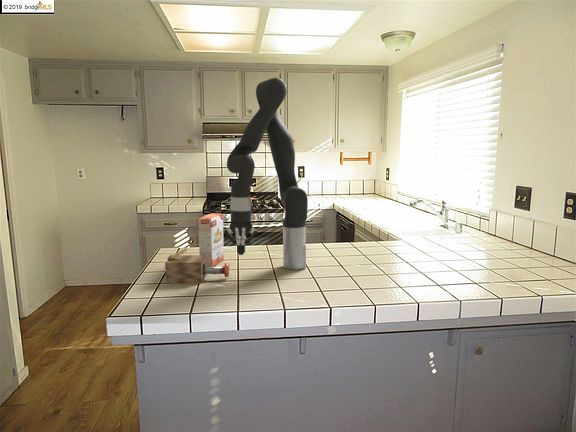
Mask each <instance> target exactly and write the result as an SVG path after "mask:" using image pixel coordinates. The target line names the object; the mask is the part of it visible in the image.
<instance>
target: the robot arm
mask: <svg viewBox="0 0 576 432" xmlns="http://www.w3.org/2000/svg"><path fill="white" fill-rule="evenodd" d="M287 89H288V88H287V85H286V83H285V82H284V80H283V79H281V78H280V77H273V78H268V79H266V80H264V81H261V82H259V83H258V84H257V85H256V89H255V96H256V101H257V105H258V107H259V109H258V110H257V111H256V113H255V114H254V116H253V117H252V118H251V119H250V120H249V122H248V123H247V125H246V126H245V128H244V131H243V133H242V135H241V137H240V140H239V142H238V143H237V144H236V145H235V146H234V148H233V150H232V151H231V152H229V153H230V154H229V155H228V157H227V159H226V167H227V170H228V171H229V172H230V173H232V174H238V176H237V179H236V180H233V181H232V182H231V184H230V206H229V210H230V223H229V227H228V228H226V229H224V230H223V234H225V236H226V237H227V238H228V240H229V241H230V242H231V243H232V244H233V245H236V252H237V254H238V255H239V256H243V255H244V254H245V252H246V245H248V244H250V243H251V241H252V240H253V239H254V237H255V236H256V235H257V234H258V232H259V231H258V229H255V228H254V227H253V224H252V200H251V184H252V180H253V176H254V173H255V172H254V171H255V160H254V158H253V157H252V155H251V154H253V153H255V152H257V150H258V149H259V146H260V144H261V142H262V140H263V137H264V135H265V132H266V135H267V139H268V145H269V148H270V149H269V150H270V153H271V156H272V161H273V164H274V167H275V168H274V169H275V171H276V175H277V180H278V187H279V195H280V201H281V203H282V206H284V207H285V211H284V213H285V215H284V218H283V219H282V244H283V245H282V250H283V251H282V254H283V256H282V259H283V260H282V261H283V263H282V264H283V269H287V270H301V269H302V270H303V269H306V268H307V245H306V240H307V239H306V238H307V237H306V225H307V224H306V223H307V219H308V206H309V205H308V203H309V202H308V195H307V193H306V191H305V190H304V189H303V188H301V187H299V185H298V182H297V179H296V174H295V173H296V172H295V167H296V166H295V165H296V152H295V146H294V142H293V137H292V134H291V133H290V131H289V129H288V128H287V127H286V125H285V124H284V122H283V121H282V119H281V118H280V115H279V112H278V109H279V108H280V106H281V104H282V103H283V101H284V100H285V98H286V96H287V91H288V90H287ZM232 233H233V234H234V236H235V237H234V236H233V234H232ZM249 233H250V234H251V235H250V236H249V237H248V238H246V237H247V235H248V234H249Z"/></svg>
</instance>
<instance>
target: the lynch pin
mask: <svg viewBox="0 0 576 432" xmlns="http://www.w3.org/2000/svg"><path fill="white" fill-rule="evenodd" d="M203 274H207V275H224V278H229V277H230V264H229V263H228V262H227V263H226V262H225V263H224V266H214V267H203Z"/></svg>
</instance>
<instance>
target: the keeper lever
mask: <svg viewBox="0 0 576 432" xmlns="http://www.w3.org/2000/svg"><path fill="white" fill-rule="evenodd" d="M187 251H188V249H187V247H185V248H183V249H181V250H179V251H177V252H176V253H173V254H170V255H169V256H168V257H167V260H172V259H173V258H175V257H177V256H179V255H183V254H184V253H186V252H187Z"/></svg>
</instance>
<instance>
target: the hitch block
mask: <svg viewBox="0 0 576 432" xmlns="http://www.w3.org/2000/svg"><path fill="white" fill-rule="evenodd" d="M164 267H165V271H164V272H165V282H166V283H165V284H166V285H170V284H171V285H172V284H173V285H180V284H181V285H182V284H183V285H185V284H191V285H193V284H195V285H196V284H198V285H199V284H201V285H202V284H203V282H204V281H205V279H206V277H207V275H208V274H203V267H207V266H206V255H200V254H193V255H187V254H186V255H183V254H181V255H179V256H177V257H175V258H173V259H172V260H168V259H167V260H166V261H165V262H164Z"/></svg>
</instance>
